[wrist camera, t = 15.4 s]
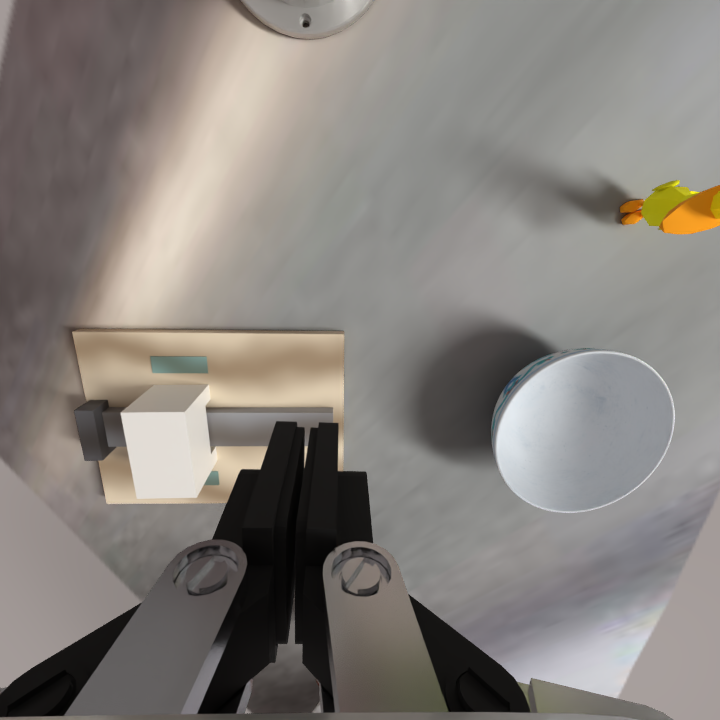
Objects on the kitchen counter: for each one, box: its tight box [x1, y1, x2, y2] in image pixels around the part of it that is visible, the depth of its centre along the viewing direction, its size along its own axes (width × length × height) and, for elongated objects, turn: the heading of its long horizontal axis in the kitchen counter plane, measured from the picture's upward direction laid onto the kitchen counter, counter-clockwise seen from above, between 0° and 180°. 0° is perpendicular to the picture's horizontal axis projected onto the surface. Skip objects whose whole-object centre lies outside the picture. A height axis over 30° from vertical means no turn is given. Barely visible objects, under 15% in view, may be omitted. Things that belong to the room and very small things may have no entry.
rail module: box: [121, 384, 217, 499], centre depth 36 cm, size 9×5×6 cm, turn 0°
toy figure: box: [620, 180, 720, 234], centre depth 30 cm, size 7×4×12 cm, turn 111°
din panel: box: [72, 329, 344, 504], centre depth 39 cm, size 18×24×4 cm
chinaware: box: [491, 348, 675, 513], centre depth 37 cm, size 15×15×8 cm
